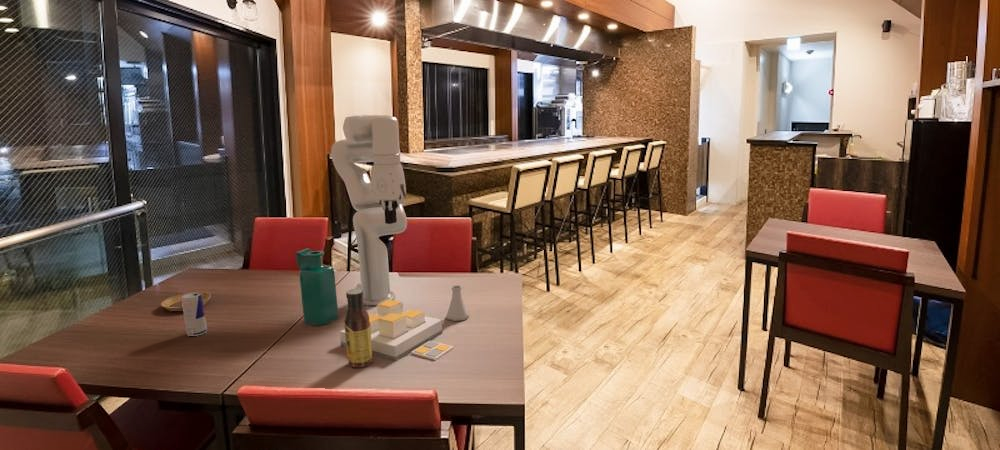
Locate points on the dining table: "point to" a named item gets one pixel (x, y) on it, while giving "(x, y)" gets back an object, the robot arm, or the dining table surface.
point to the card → (432, 350)
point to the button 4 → (414, 318)
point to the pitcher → (317, 288)
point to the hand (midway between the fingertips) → (391, 222)
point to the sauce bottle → (357, 330)
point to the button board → (403, 339)
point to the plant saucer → (178, 298)
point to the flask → (457, 306)
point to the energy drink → (194, 314)
